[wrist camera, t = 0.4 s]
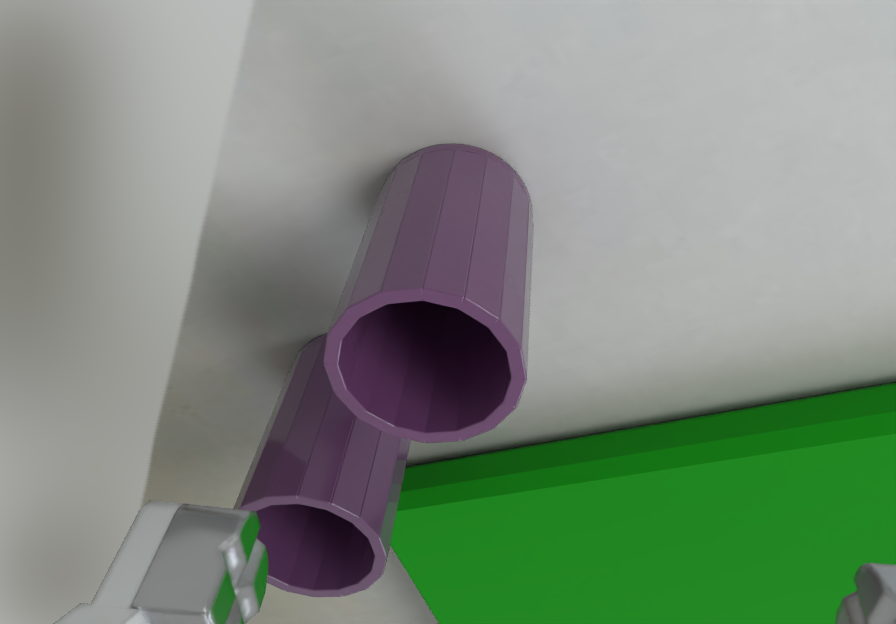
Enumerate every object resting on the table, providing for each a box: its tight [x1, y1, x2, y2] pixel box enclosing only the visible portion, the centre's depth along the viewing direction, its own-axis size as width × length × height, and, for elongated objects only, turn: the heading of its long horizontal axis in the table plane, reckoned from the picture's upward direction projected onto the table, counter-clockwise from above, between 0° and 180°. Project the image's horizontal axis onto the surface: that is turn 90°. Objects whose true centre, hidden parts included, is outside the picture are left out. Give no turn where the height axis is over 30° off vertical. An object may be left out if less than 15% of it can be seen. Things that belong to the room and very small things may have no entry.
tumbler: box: [233, 334, 411, 597], centre depth 35 cm, size 6×6×10 cm
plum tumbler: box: [323, 144, 533, 443], centre depth 29 cm, size 6×6×10 cm
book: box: [390, 382, 896, 624], centre depth 43 cm, size 22×28×3 cm
